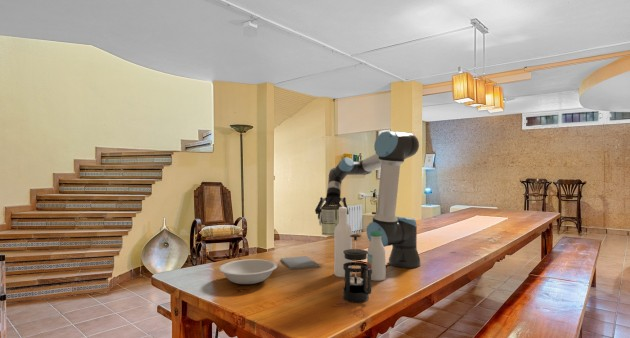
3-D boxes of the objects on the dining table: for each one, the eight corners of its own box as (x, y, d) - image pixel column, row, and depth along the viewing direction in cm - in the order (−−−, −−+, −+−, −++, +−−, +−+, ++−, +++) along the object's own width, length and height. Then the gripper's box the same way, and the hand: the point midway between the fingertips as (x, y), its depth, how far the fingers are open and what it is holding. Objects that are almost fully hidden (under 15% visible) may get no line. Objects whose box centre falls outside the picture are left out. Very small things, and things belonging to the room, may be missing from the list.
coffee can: (322, 232, 187) (321, 205, 187) (341, 232, 186) (341, 205, 186) (320, 235, 177) (320, 207, 177) (341, 235, 176) (340, 207, 176)
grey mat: (318, 266, 171) (318, 264, 171) (290, 269, 166) (290, 267, 166) (306, 257, 188) (306, 255, 188) (280, 260, 183) (280, 258, 183)
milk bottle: (386, 276, 154) (386, 230, 154) (384, 282, 147) (383, 233, 147) (369, 275, 157) (368, 230, 157) (365, 280, 150) (365, 232, 150)
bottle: (333, 272, 161) (333, 206, 161) (351, 272, 161) (350, 206, 161) (334, 277, 153) (334, 208, 153) (353, 277, 153) (352, 208, 153)
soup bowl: (215, 277, 154) (215, 262, 154) (268, 271, 164) (268, 256, 164) (223, 295, 132) (223, 277, 132) (284, 286, 142) (284, 270, 142)
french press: (336, 297, 129) (335, 234, 129) (352, 291, 136) (352, 231, 136) (361, 306, 121) (361, 239, 121) (377, 299, 127) (377, 235, 128)
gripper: (354, 195, 195) (353, 228, 179) (314, 195, 199) (309, 228, 183) (354, 186, 190) (352, 219, 174) (312, 186, 194) (307, 219, 178)
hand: (330, 224), depth 179 cm, fingers closed on coffee can, 10 cm apart
